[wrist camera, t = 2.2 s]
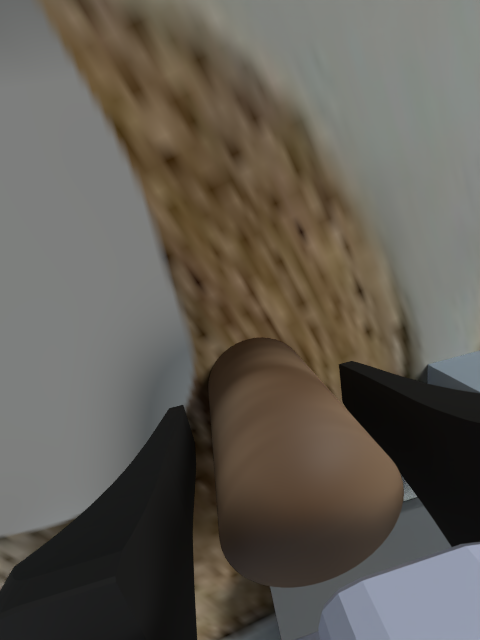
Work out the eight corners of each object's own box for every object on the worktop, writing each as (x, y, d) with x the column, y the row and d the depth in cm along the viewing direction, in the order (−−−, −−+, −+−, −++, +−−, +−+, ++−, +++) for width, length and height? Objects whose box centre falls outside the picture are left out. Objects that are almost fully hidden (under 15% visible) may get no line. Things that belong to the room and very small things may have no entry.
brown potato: (220, 437, 14) (241, 609, 8) (197, 351, 13) (197, 472, 6) (310, 412, 15) (404, 554, 8) (298, 326, 13) (402, 414, 6)
